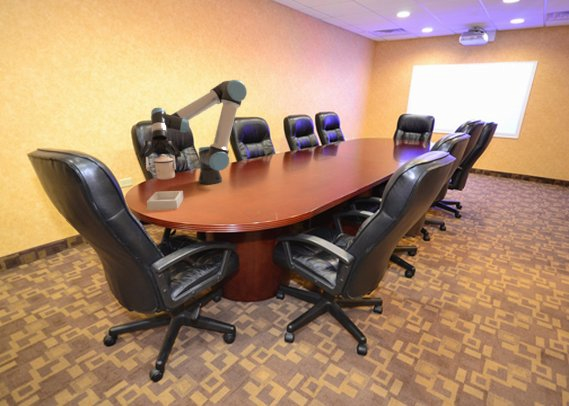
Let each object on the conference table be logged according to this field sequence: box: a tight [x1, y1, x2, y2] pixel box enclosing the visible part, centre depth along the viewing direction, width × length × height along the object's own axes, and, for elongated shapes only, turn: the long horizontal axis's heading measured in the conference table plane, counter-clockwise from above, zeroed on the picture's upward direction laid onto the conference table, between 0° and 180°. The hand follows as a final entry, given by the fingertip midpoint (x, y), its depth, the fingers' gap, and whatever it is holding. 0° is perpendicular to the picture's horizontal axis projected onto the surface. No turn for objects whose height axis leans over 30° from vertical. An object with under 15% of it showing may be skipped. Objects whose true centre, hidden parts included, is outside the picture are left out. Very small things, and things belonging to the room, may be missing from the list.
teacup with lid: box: [148, 153, 176, 180], centre depth 154 cm, size 12×9×12 cm
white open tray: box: [146, 190, 184, 211], centre depth 160 cm, size 14×17×4 cm
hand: (161, 168), depth 152 cm, fingers closed on teacup with lid, 12 cm apart
